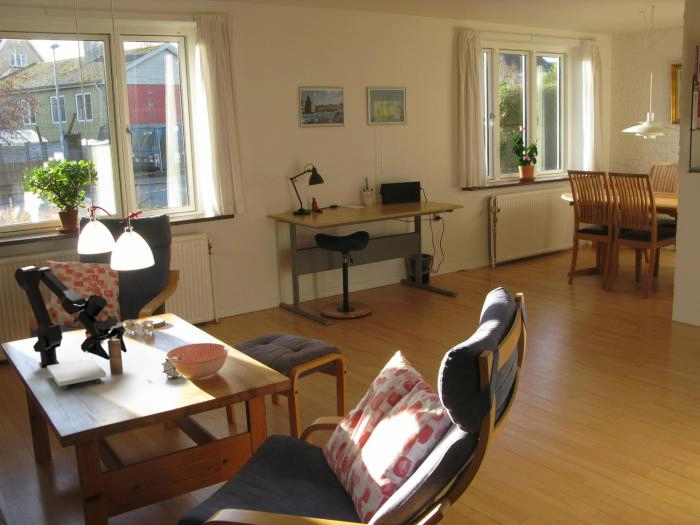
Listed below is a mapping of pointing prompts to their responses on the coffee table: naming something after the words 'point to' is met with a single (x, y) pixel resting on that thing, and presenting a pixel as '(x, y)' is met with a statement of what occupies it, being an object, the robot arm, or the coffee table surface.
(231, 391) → the coffee table surface
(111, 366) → the cylinder
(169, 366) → the grey spiky ball
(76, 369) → the caster cart
